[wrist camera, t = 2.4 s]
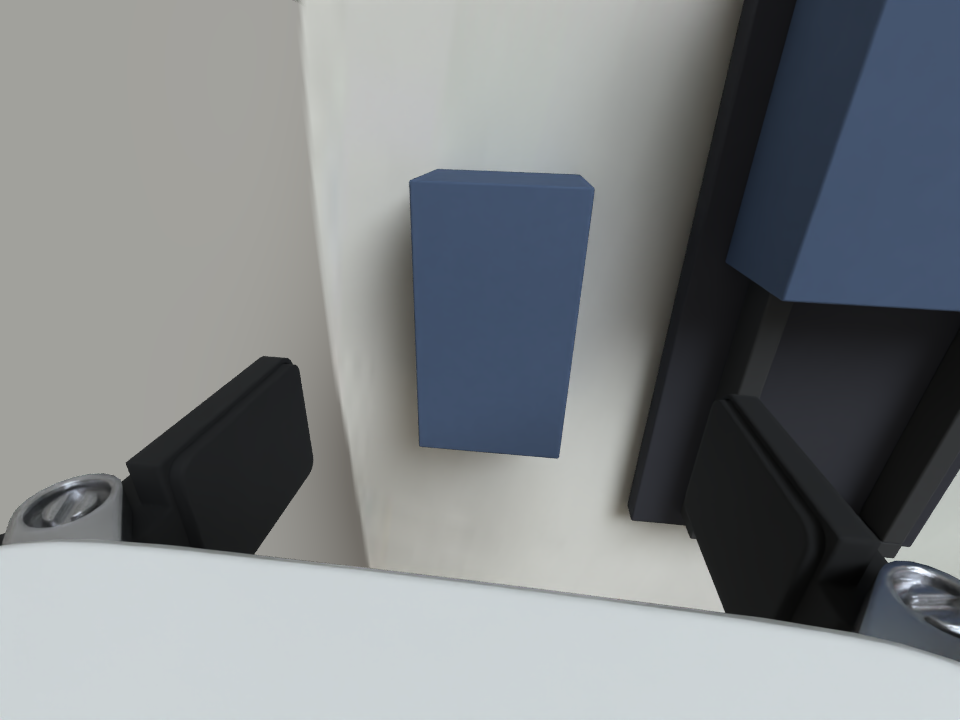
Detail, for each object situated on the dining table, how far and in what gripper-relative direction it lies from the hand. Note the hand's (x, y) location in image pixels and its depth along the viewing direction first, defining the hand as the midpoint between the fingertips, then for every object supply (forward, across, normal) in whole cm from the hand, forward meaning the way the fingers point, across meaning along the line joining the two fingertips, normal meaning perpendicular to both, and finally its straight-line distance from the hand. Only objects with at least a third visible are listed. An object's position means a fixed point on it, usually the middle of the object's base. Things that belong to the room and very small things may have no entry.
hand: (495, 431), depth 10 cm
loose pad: (+8, 0, 0) cm, 8 cm away
